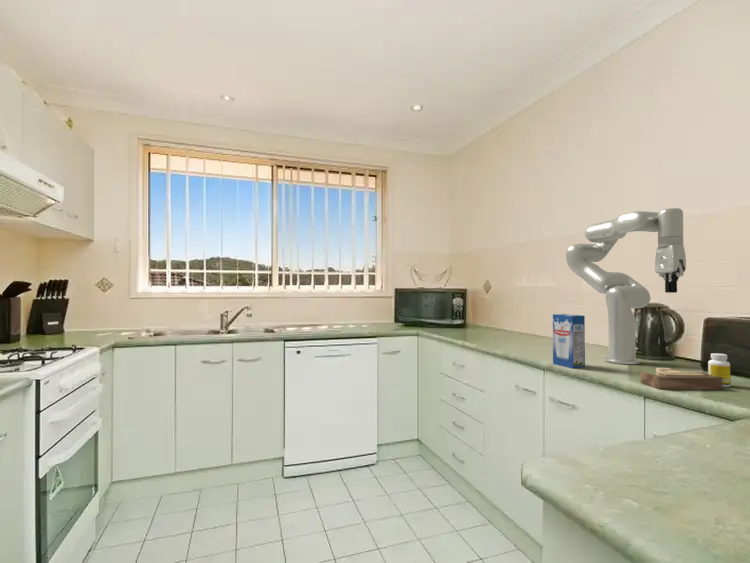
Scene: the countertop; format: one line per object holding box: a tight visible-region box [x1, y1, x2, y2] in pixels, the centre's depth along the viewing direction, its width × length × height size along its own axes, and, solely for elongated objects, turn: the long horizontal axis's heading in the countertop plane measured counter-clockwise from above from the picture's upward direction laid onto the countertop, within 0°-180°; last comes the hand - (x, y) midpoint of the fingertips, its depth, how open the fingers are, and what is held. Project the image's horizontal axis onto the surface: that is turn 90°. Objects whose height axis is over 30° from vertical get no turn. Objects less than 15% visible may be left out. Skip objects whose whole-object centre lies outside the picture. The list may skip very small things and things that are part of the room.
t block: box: [655, 367, 705, 377], centre depth 129 cm, size 10×12×4 cm
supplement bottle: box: [707, 352, 731, 388], centre depth 127 cm, size 5×5×10 cm
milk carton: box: [552, 313, 586, 369], centre depth 159 cm, size 10×6×20 cm, turn 20°
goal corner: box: [640, 371, 723, 390], centre depth 126 cm, size 8×19×4 cm, turn 90°
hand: (671, 292), depth 148 cm, fingers closed
